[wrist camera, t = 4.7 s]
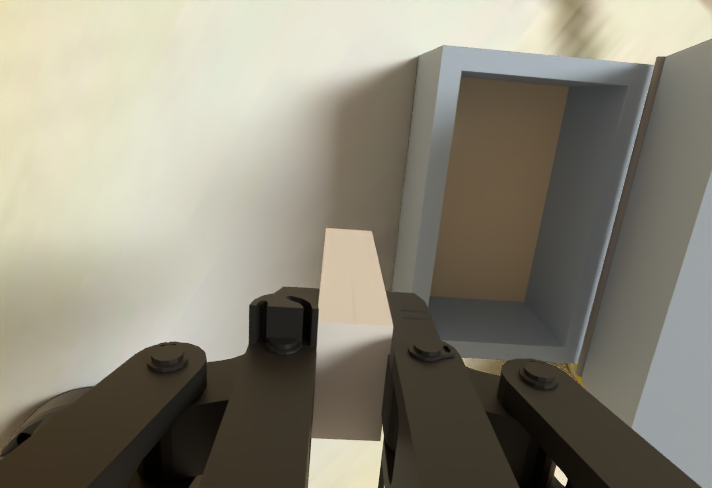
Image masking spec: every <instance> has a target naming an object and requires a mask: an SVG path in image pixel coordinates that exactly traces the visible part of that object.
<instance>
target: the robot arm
mask: <svg viewBox="0 0 712 488" xmlns="http://www.w3.org/2000/svg"><path fill="white" fill-rule="evenodd" d="M382 424H383V432H384V442H383V450H382V459H381V468H380V476H379V485H378V488H384V486H385V488H702V487H701V486H700V485H698V484H697V483H696V482H695V481H694V480H692V479H691V478H690V477H689V476H688V475H686V474H685V473H684V472H683V471H682V470H681V469H679V468H678V467H677V466H676V465H675V464H673V463H672V462H671V461H670V460H669V459H667V458H666V457H665V456H664V455H663V454H662V453H660V452H659V451H658V450H657V449H656V448H654V447H653V446H652V445H651V444H650V443H648V442H647V441H646V440H645V439H644V438H642V437H641V436H640V435H639V434H638V433H637V432H635V431H634V430H633V429H632V428H631V427H629V426H628V425H627V424H626V423H625V422H623V421H622V420H621V419H620V418H619V417H618V416H616V415H615V414H614V413H613V412H612V411H610V410H609V409H608V408H607V407H606V406H604V405H603V404H602V403H601V402H600V401H599V400H597V399H596V398H595V397H594V396H593V395H591V394H590V393H589V392H588V391H587V390H585V389H584V388H583V387H582V386H581V385H580V384H578V383H577V382H576V381H575V380H574V379H572V378H571V377H570V376H569V375H568V374H566V373H565V372H563V371H562V370H560V369H559V368H557V367H555V366H552V365H550V364H548V363H546V362H544V361H541V360H536V359H531V358H528V359H519V358H517V359H513V360H509V361H507V362H506V363H505V364H504V365H503V366H502V370H501V375H500V376H497V375H492V374H488V373H484V372H480V371H476V370H473V369H470V368H468V367H465V365H464V363H463V361H462V358H461V356H460V354H459V353H458V352H457V350H456V349H455V348H454V347H453V346H451V345H449V344H448V343H446V342H444V341H441V339H440V337H439V334H438V332H437V329H436V327H435V324H434V322H433V321H432V317H431V314H430V313H429V309H428V307H427V305H426V302H425V301H424V300H423V299H421V298H420V297H419V296H418V295H416V294H415V293H406V292H389V291H385V287H384V282H383V278H382V274H381V269H380V265H379V260H378V256H377V251H376V247H375V243H374V238H373V234H372V231H365V230H350V229H334V228H326V233H325V243H324V253H323V263H322V273H321V282H320V289H315V288H298V287H282V288H281V289H280V290H278V291H277V292H275V293H274V294H269V295H264V296H261V297H259V298H257V299H255V300H254V301H253V302H252V303H251V304H250V305H249V345H248V348H247V351H246V353H245V354H243V355H241V356H238V357H235V358H232V359H227V360H222V361H214V362H207V359H206V354H205V352H204V351H203V350H202V349H201V348H200V347H198V346H195V345H192V344H189V343H180V342H169V343H167V342H165V343H160V344H158V345H154V346H151V347H148V348H145V349H144V350H142V351H140V352H138V353H137V354H135V355H134V356H132V357H131V358H130V359H129V360H127V361H126V362H125V363H124V364H122V365H121V366H120V367H118V368H117V369H116V370H115V371H113V372H112V373H111V374H110V375H108V376H107V377H106V378H104V379H103V380H102V381H101V382H99V383H98V384H97V385H96V386H94V387H88V388H82V389H77V390H73V391H70V392H67V393H64V394H62V395H59V396H57V397H55V398H53V399H51V400H49V401H48V402H46V403H45V404H43V405H42V406H41V407H39V408H38V409H37V410H36V411H35V412H34V413H33V414H32V415H31V416H30V417H29V418H28V419H27V420H26V421H25V422H24V423H23V424H22V426H21V427H20V428H19V429H18V430H17V431H16V432H15V433H14V434H13V436H12V437H11V438H10V440H9V441H8V443H7V444H6V446H5V447H4V449H3V451H2V453H1V456H0V488H308V477H309V464H310V450H311V438H321V439H345V440H369V441H380V439H381V430H382ZM556 465H557V466H558V467H559V468H560V469H561V470H562V472H563V473H564V474H565V475H566V477H567V478H568V481H567V484H566V486H565V487H564V486H563V485H562V484H561V483H560V482H559V481H558V480H557V479H556V477H555V476H554V472H555V468H556Z"/></svg>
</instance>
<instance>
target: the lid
mask: <svg viewBox="0 0 712 488" xmlns="http://www.w3.org/2000/svg"><path fill="white" fill-rule="evenodd" d="M575 373H576V375H578V376H580V377H582V382H583V388H584V389H585V390H587V391H588V392H589V393H590V394H591V395H593V396H594V397H595V398H596V399H597V400H599V401H600V402H601V403H602V404H603V405H604V406H606V407H607V408H608V409H609V410H610V411H612V412H613V413H614V414H615V415H616V416H618V417H619V418H620V419H621V420H622V421H623V422H625V423H626V424H627V425H628V426H629V427H631V428H632V429H633V430H634V431H635V432H637V433H638V434H639V435H640V436H641V437H642V438H644V439H645V440H646V441H647V442H648V443H650V444H651V445H652V446H653V447H654V448H656V449H657V450H658V451H659V452H660V453H662V454H663V455H664V456H665V457H666V458H667V459H669V460H670V461H671V462H672V463H673V464H675V465H676V466H677V467H678V468H679V469H681V470H682V471H683V472H684V473H685V474H686V475H688V476H689V477H690V478H691V479H692V480H694V481H695V482H696V483H697V484H698V485H700V486H701V487H702V488H712V39H710V40H707V41H705V42H702V43H700V44H697V45H695V46H692V47H690V48H687V49H684V50H682V51H679V52H677V53H674V54H672V55H669V56H667V57H657V58H656V62H655V66H654V69H653V73H652V77H651V81H650V85H649V89H648V93H647V97H646V100H645V104H644V108H643V112H642V116H641V120H640V124H639V128H638V132H637V135H636V139H635V143H634V147H633V151H632V155H631V159H630V163H629V166H628V170H627V174H626V178H625V182H624V186H623V190H622V194H621V198H620V201H619V205H618V209H617V213H616V217H615V221H614V225H613V229H612V232H611V236H610V240H609V244H608V248H607V252H606V256H605V260H604V264H603V267H602V271H601V275H600V279H599V283H598V287H597V291H596V295H595V298H594V302H593V306H592V310H591V314H590V318H589V322H588V326H587V330H586V333H585V337H584V341H583V345H582V349H581V353H580V357H579V361H578V364H577V368H576V372H575Z"/></svg>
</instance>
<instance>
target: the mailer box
mask: <svg viewBox="0 0 712 488" xmlns="http://www.w3.org/2000/svg"><path fill="white" fill-rule="evenodd" d="M653 67H654V65H648V64H637V63H627V62H616V61H605V60H595V59H584V58H574V57H563V56H553V55H542V54H531V53H521V52H510V51H500V50H489V49H478V48H468V47H457V46H447V45H443V46H440V47H438V48H436V49H433V50H431V51H429V52H427V53H424V54H422V55H420V56H419V57H418V66H417V74H416V83H415V92H414V101H413V109H412V118H411V127H410V135H409V144H408V153H407V161H406V170H405V179H404V187H403V196H402V205H401V213H400V222H399V231H398V239H397V248H396V257H395V266H394V274H393V283H392V292H406V293H415V294H416V295H418V296H419V297H420V298H421V299H423V300H424V301H425V302H426V305H427V307H428V309H429V313H430V314H431V317H432V321H433V322H434V324H435V327H436V329H437V332H438V334H439V337H440V339H441V341H444V342H446V343H448V344H449V345H451V346H453V347H454V348H455V349H456V350H457V352H458V353H459V354H460V356H461V357H463V358H481V359H500V360H513V359H517V358H519V359H528V358H531V359H536V360H541V361H544V362H554V363H572V364H577V363H578V359H579V355H580V351H581V347H582V343H583V339H584V336H585V332H586V328H587V324H588V320H589V316H590V312H591V308H592V304H593V301H594V297H595V293H596V289H597V285H598V281H599V277H600V273H601V269H602V266H603V262H604V258H605V254H606V250H607V246H608V242H609V238H610V235H611V231H612V227H613V223H614V219H615V215H616V211H617V207H618V203H619V200H620V196H621V192H622V188H623V184H624V180H625V176H626V172H627V168H628V165H629V161H630V157H631V153H632V149H633V145H634V141H635V137H636V133H637V130H638V126H639V122H640V118H641V114H642V110H643V106H644V102H645V98H646V95H647V91H648V87H649V83H650V79H651V75H652V71H653Z"/></svg>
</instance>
